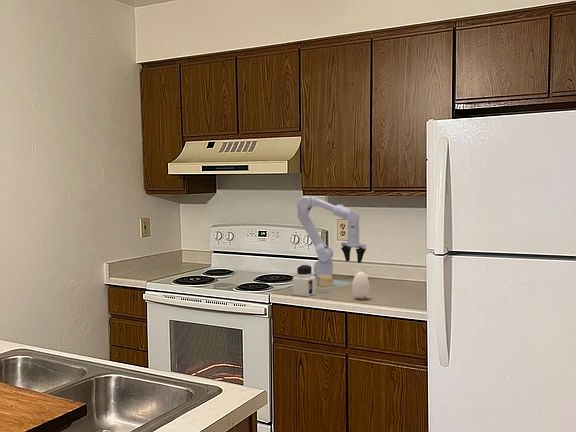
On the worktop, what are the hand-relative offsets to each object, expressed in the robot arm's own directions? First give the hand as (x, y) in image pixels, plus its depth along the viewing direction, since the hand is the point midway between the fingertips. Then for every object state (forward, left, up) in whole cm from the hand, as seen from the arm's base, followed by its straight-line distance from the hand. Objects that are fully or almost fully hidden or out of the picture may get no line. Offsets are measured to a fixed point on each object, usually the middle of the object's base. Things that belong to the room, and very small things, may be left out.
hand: (353, 261), depth 304 cm
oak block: (+2, -22, -8) cm, 24 cm away
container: (+8, -41, -10) cm, 43 cm away
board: (+3, -20, -9) cm, 22 cm away
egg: (+32, -30, -10) cm, 45 cm away
